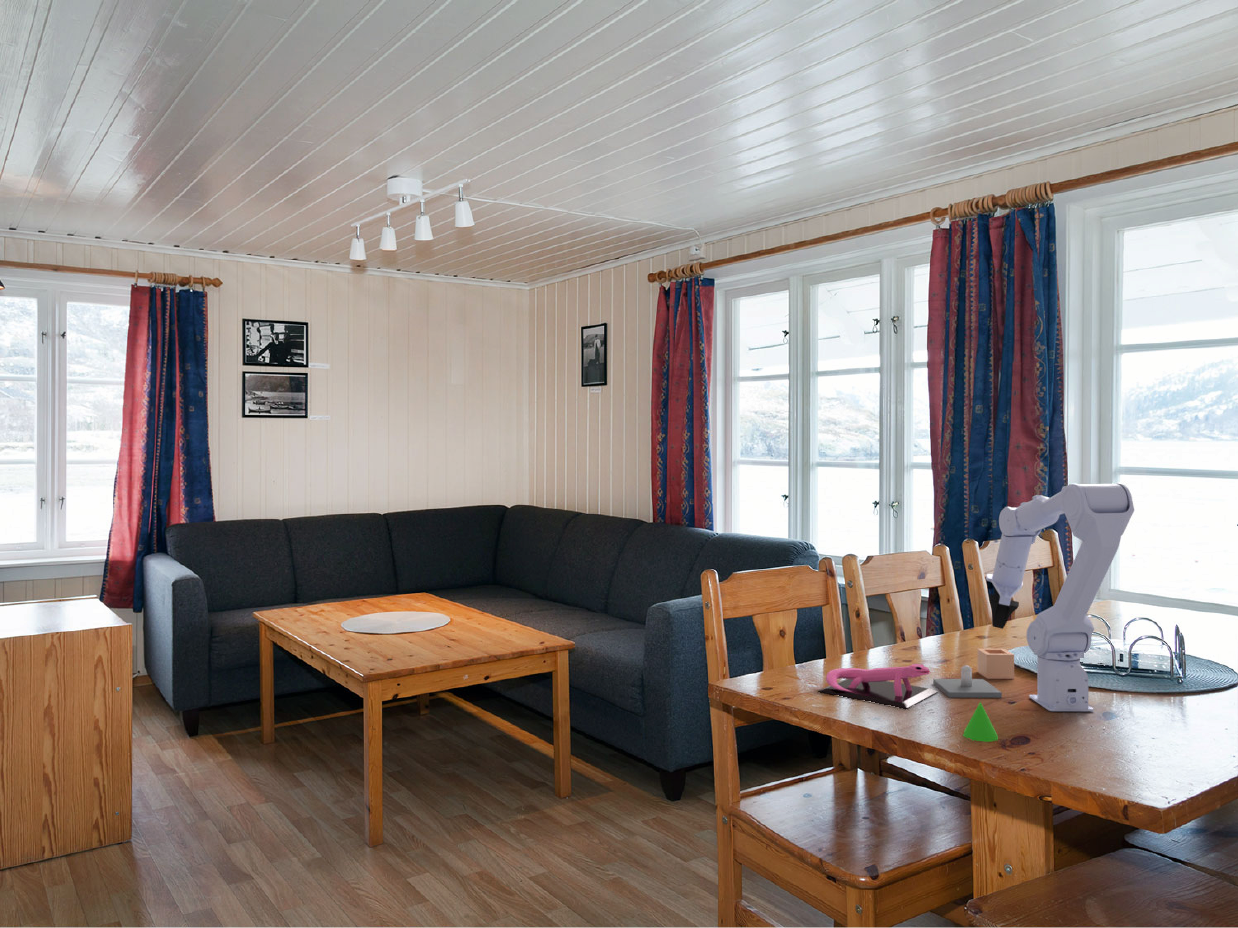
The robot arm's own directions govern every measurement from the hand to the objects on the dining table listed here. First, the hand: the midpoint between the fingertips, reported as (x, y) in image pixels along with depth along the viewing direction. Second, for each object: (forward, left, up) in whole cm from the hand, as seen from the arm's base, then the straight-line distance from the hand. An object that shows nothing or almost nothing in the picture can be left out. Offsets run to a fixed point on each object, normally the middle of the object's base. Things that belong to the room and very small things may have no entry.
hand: (998, 617), depth 190 cm
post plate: (-13, +11, -12) cm, 21 cm away
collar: (-1, +1, -12) cm, 12 cm away
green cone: (-41, +18, -13) cm, 46 cm away
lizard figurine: (-15, +28, -13) cm, 34 cm away
